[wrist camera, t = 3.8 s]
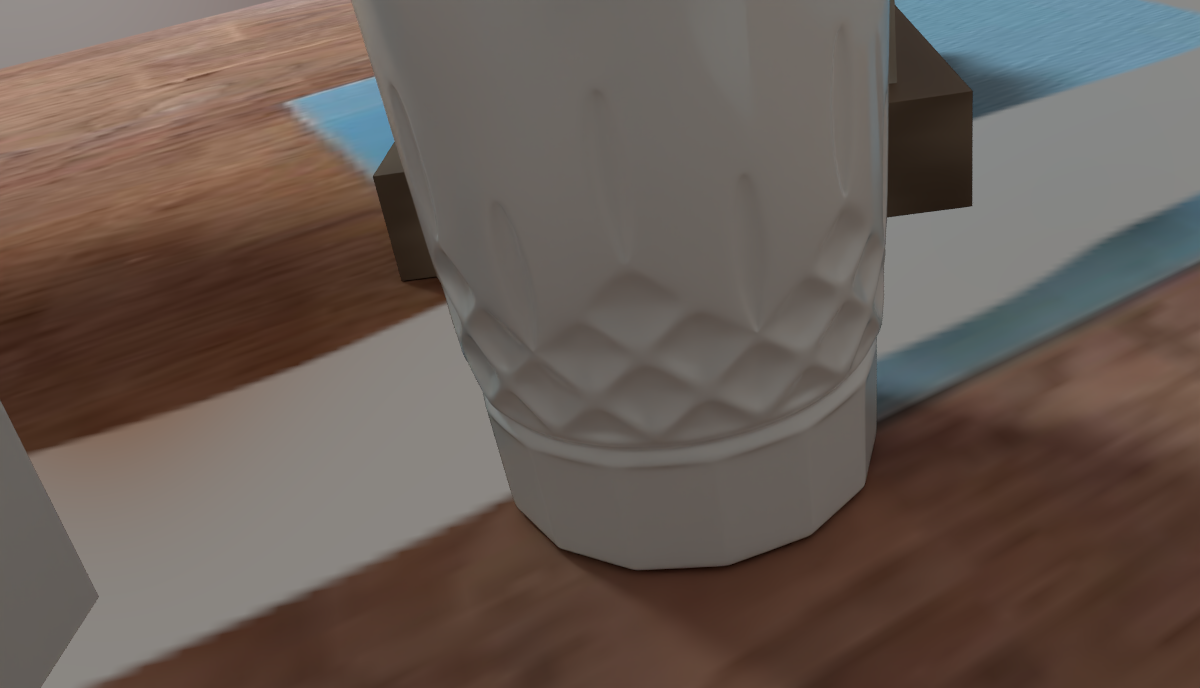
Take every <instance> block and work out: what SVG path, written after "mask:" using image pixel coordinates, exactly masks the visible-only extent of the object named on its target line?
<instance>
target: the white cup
mask: <svg viewBox="0 0 1200 688" xmlns="http://www.w3.org/2000/svg"><path fill="white" fill-rule="evenodd" d="M351 2H352V5H353V8H354V12H355V15H356V18H357V21H358V24H359V28H360V31H361V34H362V37H363V40H364V43H365V47H366V50H367V53H368V56H369V59H370V63H371V66H372V69H373V72H374V76H375V79H376V82H377V85H378V89H379V92H380V95H381V98H382V102H383V105H384V108H385V111H386V115H387V118H388V121H389V124H390V128H391V131H392V134H393V137H394V141H395V144H396V147H397V150H398V154H399V157H400V160H401V164H402V167H403V170H404V174H405V177H406V180H407V183H408V187H409V190H410V193H411V196H412V200H413V203H414V206H415V209H416V213H417V216H418V219H419V223H420V226H421V229H422V232H423V236H424V239H425V242H426V245H427V248H428V251H429V255H430V258H431V261H432V264H433V267H434V269H435V272H436V275H437V277H438V279H439V281H440V283H441V285H442V288H443V290H444V293H445V297H446V301H447V304H448V308H449V312H450V315H451V318H452V322H453V325H454V328H455V331H456V334H457V337H458V340H459V343H460V346H461V349H462V352H463V355H464V357H465V358H466V360H467V362H468V363H469V365H470V367H471V370H472V371H473V374H474V376H475V378H476V380H477V382H478V383H479V385H480V387H481V389H482V391H483V395H484V400H485V404H486V408H487V412H488V415H489V418H490V422H491V425H492V428H493V432H494V436H495V439H496V442H497V446H498V449H499V453H500V456H501V459H502V463H503V466H504V470H505V473H506V476H507V480H508V483H509V486H510V490H511V493H512V496H513V499H514V502H515V504H516V506H517V507H518V508H519V509H520V510H521V511H522V512H523V513H524V514H525V515H526V516H527V517H528V518H529V519H530V520H531V521H532V522H533V523H534V524H535V525H536V526H537V527H538V528H539V529H540V530H541V531H542V532H543V533H544V534H545V535H546V536H547V537H548V538H549V539H550V540H551V541H552V542H553V543H554V544H555V545H557V546H558V547H559V548H561V549H564V550H567V551H571V552H574V553H578V554H581V555H584V556H588V557H591V558H594V559H598V560H601V561H605V562H608V563H611V564H615V565H618V566H622V567H625V568H628V569H632V570H655V569H677V568H697V567H715V566H727V565H731V564H734V563H737V562H740V561H742V560H745V559H748V558H751V557H754V556H756V555H759V554H762V553H765V552H768V551H770V550H773V549H776V548H778V547H781V546H783V545H786V544H789V543H791V542H794V541H797V540H800V539H802V538H805V537H807V536H810V535H811V534H813V533H814V532H815V531H816V530H817V529H818V528H820V527H821V526H822V525H823V524H824V523H825V522H826V521H827V520H828V519H830V518H831V517H832V516H833V515H834V514H835V513H836V512H837V511H838V510H839V509H841V508H842V507H843V506H844V505H845V504H846V503H847V502H848V501H849V500H850V499H851V498H853V497H854V496H855V495H856V494H857V493H858V492H859V491H860V490H861V489H862V488H863V487H864V485H865V482H866V478H867V473H868V468H869V464H870V460H871V455H872V451H873V446H874V442H875V437H876V429H877V349H876V348H877V345H876V342H877V335H878V333H879V330H880V328H881V325H882V317H883V303H884V260H885V244H886V223H887V200H888V124H889V10H890V0H351Z"/></svg>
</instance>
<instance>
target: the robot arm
mask: <svg viewBox="0 0 1200 688" xmlns="http://www.w3.org/2000/svg"><path fill="white" fill-rule="evenodd" d="M98 597H99V596H98V594H97V592H96V590H95V589H94V587H93V584H92V582H91V580H90V578H89V577H88V574H87V573H86V570H85V569H84V566H83V565H82V562H81V560H80V558H79V556H78V554H77V552H76V550H75V549H74V546H73V545H72V543H71V540H70V539H69V536H68V534H67V533H66V530H65V529H64V526H63V524H62V522H61V520H60V518H59V516H58V515H57V512H56V510H55V508H54V506H53V504H52V503H51V500H50V498H49V497H48V495H47V493H46V490H45V489H44V487H43V485H42V483H41V481H40V479H39V477H38V475H37V473H36V471H35V469H34V467H33V465H32V463H31V461H30V459H29V457H28V455H27V453H26V451H25V449H24V447H23V445H22V443H21V441H20V439H19V437H18V435H17V433H16V431H15V429H14V427H13V425H12V423H11V421H10V419H9V417H8V415H7V413H6V411H5V409H4V407H3V405H2V403H1V401H0V688H41V686H42V685H43V683H44V681H45V680H46V678H47V676H48V675H49V674H50V672H51V671H52V669H53V667H54V666H55V664H56V663H57V661H58V660H59V658H60V657H61V655H62V653H63V652H64V650H65V648H66V647H67V646H68V644H69V643H70V641H71V639H72V638H73V636H74V634H75V633H76V631H77V630H78V628H79V627H80V625H81V624H82V622H83V621H84V619H85V618H86V616H87V614H88V613H89V611H90V610H91V608H92V607H93V605H94V603H95V602H96V600H97V599H98Z"/></svg>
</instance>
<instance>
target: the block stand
mask: <svg viewBox="0 0 1200 688" xmlns="http://www.w3.org/2000/svg"><path fill="white" fill-rule="evenodd" d="M972 101H973V91H972V90H971V89H970V88H969V87H968V85H967V84H966V83H965V82H964V81H963V80H962V79H961V78H960V77H959V75H958V74H957V73H956V72H955V71H954V70H953V69H952V68H951V67H950V65H949V64H948V63H947V62H946V61H945V60H944V59H943V58H942V57H941V55H940V54H939V53H938V52H937V51H936V50H935V49H934V48H933V47H932V45H931V44H930V43H929V42H928V41H927V40H926V39H925V38H924V37H923V35H922V34H921V33H920V32H919V31H918V30H917V29H916V28H915V27H914V25H913V24H912V23H911V22H910V21H909V20H908V19H907V18H906V17H905V15H904V14H903V13H902V12H901V11H900V10H899V9H898V8H897V7H896V5H895V3H894V0H890V10H889V124H888V200H887V217H893V216H900V215H908V214H916V213H924V212H931V211H939V210H947V209H955V208H962V207H969V206H972ZM373 179H374V182H375V186H376V190H377V193H378V197H379V201H380V204H381V208H382V211H383V215H384V219H385V222H386V226H387V230H388V233H389V237H390V240H391V244H392V248H393V251H394V255H395V259H396V262H397V266H398V269H399V273H400V277H401V280H402V281H404V280H412V279H420V278H427V277H435V276H437V275H436V272H435V269H434V267H433V264H432V261H431V258H430V255H429V251H428V248H427V245H426V242H425V239H424V236H423V232H422V229H421V226H420V223H419V219H418V216H417V213H416V209H415V206H414V203H413V200H412V196H411V193H410V190H409V187H408V183H407V180H406V177H405V174H404V170H403V167H402V164H401V160H400V157H399V154H398V150H397V147H396V144H395V142H394V143H393V145H392V147H391V148H390V150H389V151H388V153H387V155H386V156H385V158H384V159H383V161H382V163H381V164H380V166H379V167H378V169H377V171H376V172H375V174H374V175H373Z"/></svg>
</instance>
